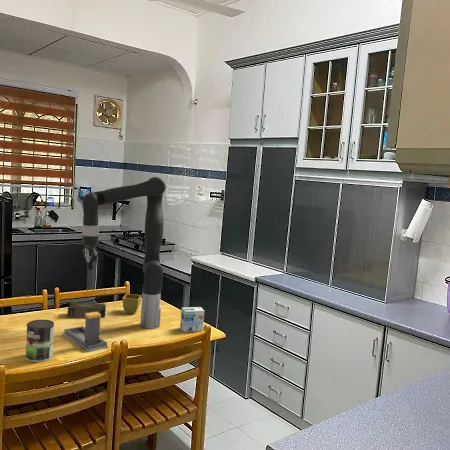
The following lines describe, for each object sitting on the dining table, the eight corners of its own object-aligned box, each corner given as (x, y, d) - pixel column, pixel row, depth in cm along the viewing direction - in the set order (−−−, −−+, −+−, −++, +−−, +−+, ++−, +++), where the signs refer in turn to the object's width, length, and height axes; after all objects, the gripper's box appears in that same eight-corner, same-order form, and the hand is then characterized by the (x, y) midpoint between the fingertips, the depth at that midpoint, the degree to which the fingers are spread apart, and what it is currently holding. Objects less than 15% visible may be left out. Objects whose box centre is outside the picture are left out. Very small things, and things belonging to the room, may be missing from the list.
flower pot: (137, 315, 248) (138, 299, 247) (121, 314, 248) (122, 297, 247) (140, 310, 257) (141, 294, 256) (125, 309, 257) (126, 293, 256)
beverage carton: (105, 318, 239) (106, 306, 239) (66, 318, 235) (67, 306, 234) (105, 313, 247) (106, 301, 246) (68, 313, 242) (68, 301, 242)
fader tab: (83, 342, 201) (85, 313, 199) (95, 340, 204) (96, 311, 203) (87, 345, 198) (89, 315, 196) (99, 343, 202) (100, 314, 200)
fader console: (63, 334, 212) (63, 329, 211) (83, 330, 218) (83, 325, 218) (86, 352, 194) (86, 346, 194) (107, 347, 201) (108, 342, 200)
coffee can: (40, 364, 179) (41, 329, 178) (19, 358, 183) (20, 324, 181) (58, 355, 189) (59, 322, 187) (38, 350, 192) (39, 317, 191)
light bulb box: (183, 332, 227) (184, 311, 226) (179, 327, 234) (180, 307, 232) (203, 331, 231) (205, 310, 230) (199, 326, 238) (200, 306, 236)
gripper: (77, 233, 223) (76, 268, 225) (89, 236, 213) (88, 273, 215) (91, 232, 228) (91, 266, 230) (104, 235, 218) (103, 271, 220)
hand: (90, 269), depth 223 cm, fingers closed
